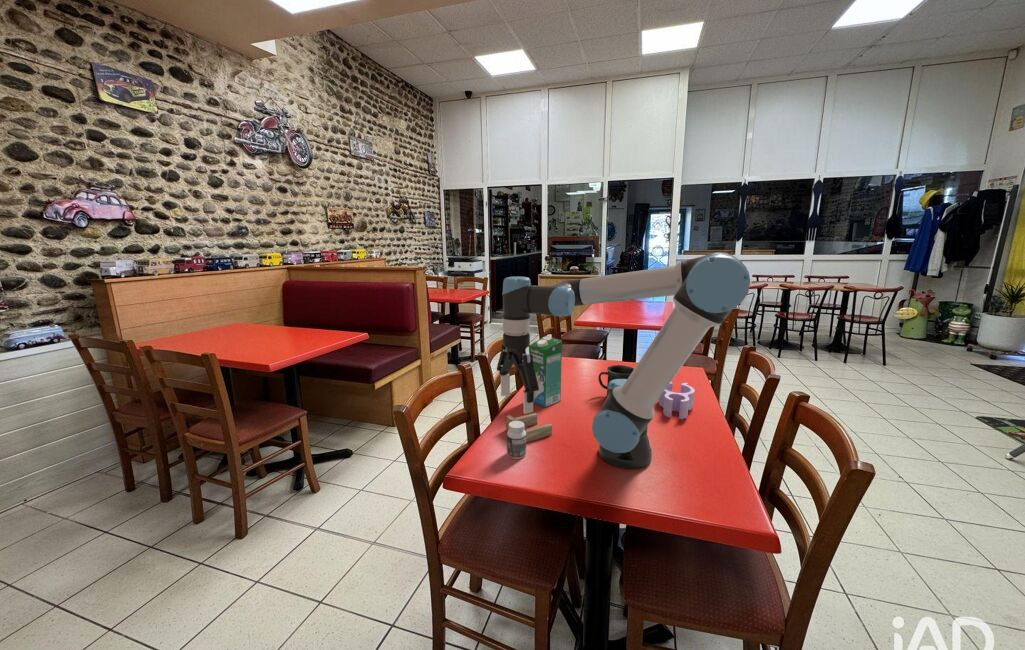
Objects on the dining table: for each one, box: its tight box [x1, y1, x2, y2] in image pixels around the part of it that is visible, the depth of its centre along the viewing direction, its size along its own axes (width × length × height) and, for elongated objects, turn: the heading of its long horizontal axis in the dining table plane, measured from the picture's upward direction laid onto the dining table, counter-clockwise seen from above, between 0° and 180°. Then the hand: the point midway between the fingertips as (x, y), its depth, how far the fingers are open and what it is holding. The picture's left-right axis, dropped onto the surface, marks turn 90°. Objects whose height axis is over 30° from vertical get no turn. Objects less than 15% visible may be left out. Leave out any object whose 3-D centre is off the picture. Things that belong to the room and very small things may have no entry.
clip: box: [657, 381, 696, 420], centre depth 152 cm, size 20×12×7 cm, turn 158°
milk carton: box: [528, 335, 563, 408], centre depth 156 cm, size 9×9×25 cm
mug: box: [598, 364, 635, 398], centre depth 161 cm, size 11×15×12 cm
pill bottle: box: [506, 421, 527, 460], centre depth 120 cm, size 6×6×10 cm
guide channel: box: [505, 412, 553, 443], centre depth 134 cm, size 10×12×5 cm
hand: (516, 403), depth 117 cm, fingers open, 13 cm apart
